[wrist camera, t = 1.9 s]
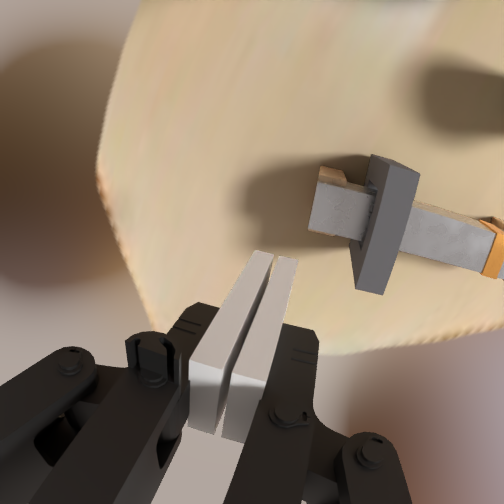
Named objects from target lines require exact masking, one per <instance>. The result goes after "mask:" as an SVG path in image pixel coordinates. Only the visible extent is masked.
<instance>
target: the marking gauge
mask: <svg viewBox="0 0 504 504" xmlns="http://www.w3.org/2000/svg"><path fill="white" fill-rule="evenodd" d="M377 191H378V190H377V189H373V188H369V187H365V186H361V185H357V184H353V183H349V182H347V180H346V177H345V175H344V172H343V171H342V170H338V169H334V168H329V167H325V166H320V171H319V176H318V181H317V186H316V191H315V196H314V201H313V205H312V210H311V215H310V220H309V225H308V231H312V232H317V233H321V234H325V235H330V236H334V235H338V236H342V237H346V238H350V239H355V240H359V241H363V242H364V240H365V237H366V233H367V230H368V226H369V222H370V219H371V215H372V211H373V207H374V203H375V199H376V195H377ZM399 251H403V252H406V253H410V254H414V255H418V256H422V257H425V258H429V259H433V260H437V261H440V262H444V263H448V264H451V265H455V266H459V267H462V268H466V269H469V270H473V271H476V272H480V274H481V275H483V276H487V277H490V278H494V279H497V278H501V279H503V280H504V221H503V220H501V219H498V218H496V217H493V218H492V221H491V223H488V222H485V221H483V220H480V219H479V221H478V220H475V219H472V218H469V217H466V216H463V215H460V214H457V213H454V212H451V211H448V210H445V209H442V208H439V207H435V206H432V205H429V204H426V203H422V202H419V201H416V200H414V201H413V204H412V208H411V212H410V215H409V219H408V222H407V225H406V229H405V232H404V235H403V238H402V242H401V245H400V248H399Z"/></svg>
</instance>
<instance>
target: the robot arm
mask: <svg viewBox="0 0 504 504" xmlns="http://www.w3.org/2000/svg"><path fill="white" fill-rule="evenodd" d="M273 256H274V254H271V253H267V252H263V251H258V250H255V251H254V252H253V254H252V256H251V257H250V259H249V261H248V262H247V264H246V266H245V267H244V269H243V271H242V272H241V274H240V276H239V277H238V279H237V281H236V282H235V284H234V286H233V287H232V289H231V291H230V292H229V294H228V296H227V297H226V299H225V301H224V302H223V304H222V306H221V307H220V308H218V307H214V306H211V305H207V304H204V303H200V302H197V303H195V304H194V305H192V306H190V307H188V308H186V309H185V311H184V312H183V313H182V314H181V316H180V317H179V319H178V320H177V321H176V322H175V324H174V325H173V328H171V329H170V330H169V332H168V333H167V334H164V333H160V332H155V331H148V332H140V333H137V334H134V335H132V336H131V337H129V338H128V339H127V340H125V345H126V353H127V361H128V367H126V368H119V367H111V366H104V365H97V364H95V360H94V357H93V356H92V355H91V353H90V352H89V351H87V350H85V349H83V348H80V347H74V346H71V347H63V348H61V349H59V350H56V351H54V352H53V353H51V354H50V355H48V356H47V357H45V358H43V359H42V360H40V361H39V362H37V363H36V364H34V365H32V366H31V367H29V368H28V369H26V370H25V371H23V372H22V373H20V374H18V375H17V376H15V377H14V378H12V379H11V380H9V381H7V382H6V383H4V384H3V385H1V386H0V504H151V502H152V500H153V498H154V496H155V493H156V492H157V490H158V488H159V486H160V483H161V481H162V479H163V477H164V475H165V473H166V471H167V469H168V467H169V465H170V463H171V461H172V459H173V456H174V454H175V452H176V450H177V448H178V446H179V444H180V442H181V437H182V428H183V426H184V424H185V422H186V420H187V418H188V426H189V427H191V428H195V429H198V430H200V431H204V432H206V433H210V434H213V435H214V433H215V431H216V428H217V426H218V424H219V421H220V419H221V416H222V414H223V411H224V409H225V406H226V412H225V418H224V424H223V431H222V437H223V438H226V439H230V440H233V441H237V442H240V443H244V447H243V450H242V453H241V455H240V458H239V461H238V464H237V467H236V470H235V472H234V476H233V478H232V481H231V483H230V486H229V489H228V492H227V494H226V497H225V500H224V503H223V504H301V501H302V500H303V501H306V503H307V504H412V501H411V497H410V494H409V491H408V487H407V483H406V480H405V477H404V473H403V470H402V467H401V464H400V461H399V458H398V454H397V452H396V450H395V448H394V447H393V444H392V443H391V442H390V441H389V440H387V439H386V438H385V437H383V436H381V435H379V434H376V433H371V432H362V433H357V434H354V435H353V436H351V437H350V438H348V437H346V436H344V435H342V434H339V433H337V432H335V431H333V430H331V429H329V428H328V427H326V426H325V425H323V423H321V422H320V421H319V419H318V418H317V416H316V415H315V412H314V409H313V396H314V388H315V379H316V370H317V360H318V350H319V340H318V338H317V336H316V334H315V332H314V330H310V329H306V328H301V327H297V326H293V325H289V324H284V323H283V321H284V317H285V313H286V309H287V305H288V301H289V297H290V293H291V289H292V285H293V281H294V276H295V272H296V268H297V264H298V260H297V259H293V258H288V257H284V256H280V255H279V257H278V260H277V263H276V265H275V268H274V270H273V273H272V275H271V278H270V280H269V277H270V272H271V267H272V262H273ZM268 282H269V283H268ZM226 404H227V405H226Z"/></svg>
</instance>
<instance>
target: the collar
mask: <svg viewBox="0 0 504 504" xmlns="http://www.w3.org/2000/svg"><path fill="white" fill-rule="evenodd" d="M419 177H420V173H418V172H416V171H414V170H412V169H410V168H408V167H406V166H404V165H402V164H400V163H398V162H396V161H394V160H391V159H387V158H384V157H380V156H377V155H373V154H371V157H370V162H369V166H368V171H367V175H366V180H365V184H364V186H365V187H369V188H373V189H377V190H378V191H377V195H376V199H375V203H374V207H373V211H372V215H371V219H370V222H369V226H368V230H367V233H366V237H365V240H364V242H363V241H359V240H355V239H350V243H349V248H350V254H351V261H352V268H353V275H354V283H355V289H357V290H362V291H366V292H371V293H375V294H379V295H383V293H384V291H385V288H386V285H387V283H388V280H389V277H390V274H391V271H392V269H393V266H394V263H395V260H396V257H397V254H398V251H399V248H400V245H401V242H402V238H403V235H404V232H405V229H406V225H407V222H408V219H409V215H410V212H411V208H412V204H413V201H414V197H415V193H416V189H417V185H418V181H419Z"/></svg>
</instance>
